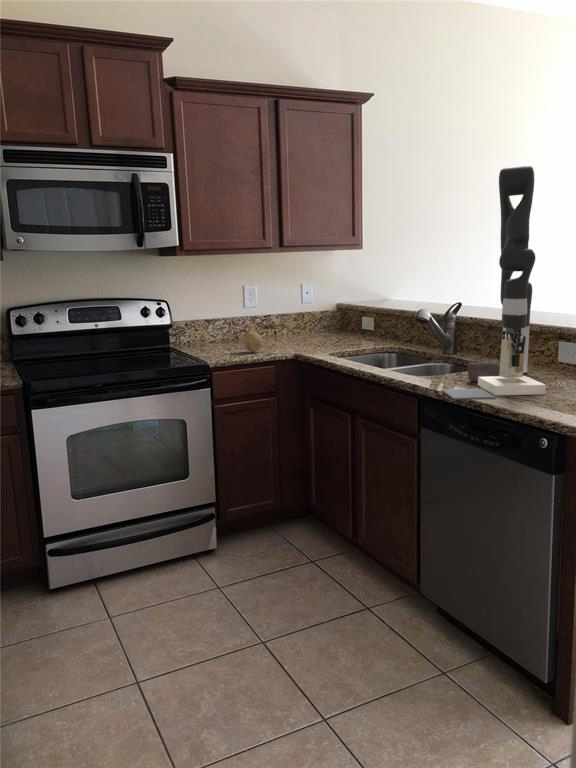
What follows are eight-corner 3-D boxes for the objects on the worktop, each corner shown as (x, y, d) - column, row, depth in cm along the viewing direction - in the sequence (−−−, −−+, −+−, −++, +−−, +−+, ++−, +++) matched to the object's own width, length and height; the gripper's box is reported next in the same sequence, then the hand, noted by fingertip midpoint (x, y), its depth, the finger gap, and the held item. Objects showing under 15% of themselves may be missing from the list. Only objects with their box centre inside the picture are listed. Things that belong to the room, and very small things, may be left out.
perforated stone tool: (496, 378, 233) (497, 358, 231) (506, 380, 228) (507, 360, 226) (461, 381, 227) (462, 361, 226) (471, 384, 223) (471, 364, 221)
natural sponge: (238, 352, 302) (238, 331, 301) (253, 350, 308) (253, 329, 306) (250, 354, 296) (250, 332, 294) (265, 352, 301) (265, 331, 300)
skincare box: (508, 378, 208) (510, 341, 206) (498, 376, 212) (500, 339, 210) (523, 377, 211) (525, 339, 208) (514, 374, 215) (516, 338, 212)
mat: (441, 391, 211) (441, 389, 211) (480, 390, 212) (481, 388, 212) (453, 399, 199) (453, 398, 199) (495, 398, 199) (495, 396, 199)
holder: (477, 385, 219) (478, 376, 219) (524, 384, 220) (524, 375, 220) (494, 395, 204) (495, 385, 203) (545, 394, 205) (545, 384, 204)
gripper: (494, 310, 214) (492, 361, 218) (511, 315, 200) (508, 369, 203) (517, 310, 214) (514, 360, 218) (535, 314, 200) (532, 368, 204)
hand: (511, 364), depth 211 cm, fingers closed on skincare box, 5 cm apart
